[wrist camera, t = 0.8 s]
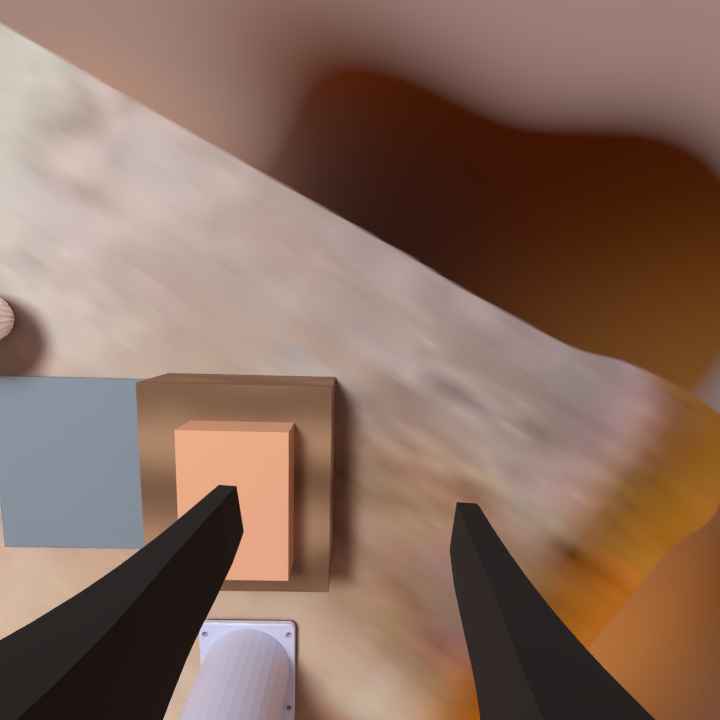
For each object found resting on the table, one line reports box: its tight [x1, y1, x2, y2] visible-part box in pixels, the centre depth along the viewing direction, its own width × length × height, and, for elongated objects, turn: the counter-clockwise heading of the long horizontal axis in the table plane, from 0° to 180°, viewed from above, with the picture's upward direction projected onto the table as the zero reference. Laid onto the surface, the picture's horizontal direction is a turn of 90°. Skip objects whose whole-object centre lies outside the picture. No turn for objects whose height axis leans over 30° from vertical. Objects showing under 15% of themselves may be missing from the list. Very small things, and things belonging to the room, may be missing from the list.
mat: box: [0, 376, 147, 549], centre depth 27 cm, size 14×13×1 cm
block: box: [174, 421, 294, 581], centre depth 23 cm, size 10×7×2 cm
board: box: [136, 373, 335, 592], centre depth 26 cm, size 15×13×4 cm
